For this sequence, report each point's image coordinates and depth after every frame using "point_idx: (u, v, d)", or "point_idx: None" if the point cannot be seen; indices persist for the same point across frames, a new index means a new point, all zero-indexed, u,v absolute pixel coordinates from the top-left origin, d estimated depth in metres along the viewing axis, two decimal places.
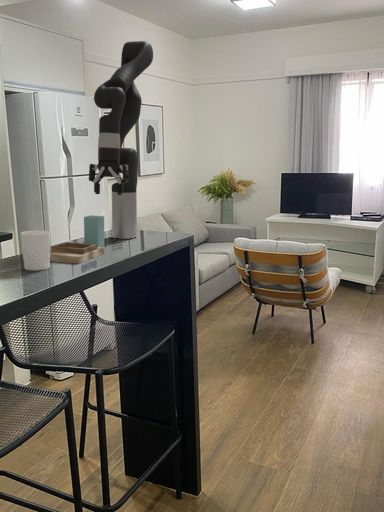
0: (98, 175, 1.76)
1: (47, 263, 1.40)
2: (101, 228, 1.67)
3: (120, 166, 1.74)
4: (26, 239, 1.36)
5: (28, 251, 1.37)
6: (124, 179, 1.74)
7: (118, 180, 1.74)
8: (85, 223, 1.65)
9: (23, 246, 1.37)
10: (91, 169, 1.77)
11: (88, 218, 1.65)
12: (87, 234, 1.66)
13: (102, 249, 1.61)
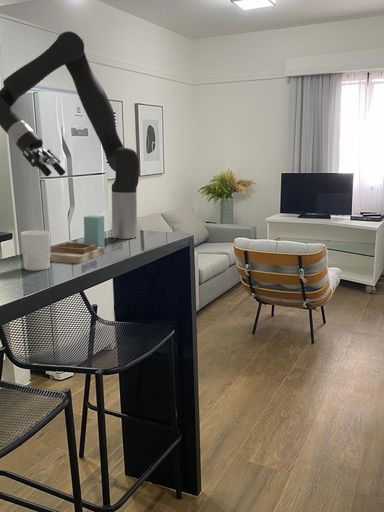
0: None
1: (47, 263, 1.40)
2: (101, 228, 1.67)
3: None
4: (26, 239, 1.36)
5: (28, 251, 1.37)
6: None
7: None
8: (85, 223, 1.65)
9: (23, 246, 1.37)
10: None
11: (88, 218, 1.65)
12: (87, 234, 1.66)
13: (102, 249, 1.61)
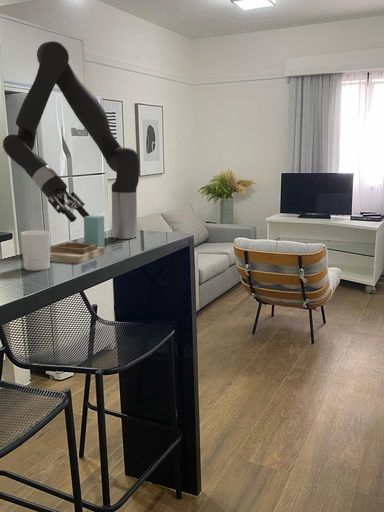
0: None
1: (47, 263, 1.40)
2: (101, 228, 1.67)
3: None
4: (26, 239, 1.36)
5: (28, 251, 1.37)
6: None
7: None
8: (85, 223, 1.65)
9: (23, 246, 1.37)
10: None
11: (88, 218, 1.65)
12: (87, 234, 1.66)
13: (102, 249, 1.61)
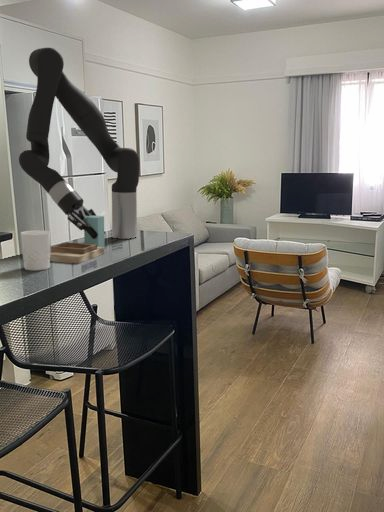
0: None
1: (47, 263, 1.40)
2: (101, 228, 1.67)
3: None
4: (26, 239, 1.36)
5: (28, 251, 1.37)
6: None
7: None
8: None
9: (23, 246, 1.37)
10: None
11: (88, 218, 1.65)
12: (87, 234, 1.66)
13: (102, 249, 1.61)
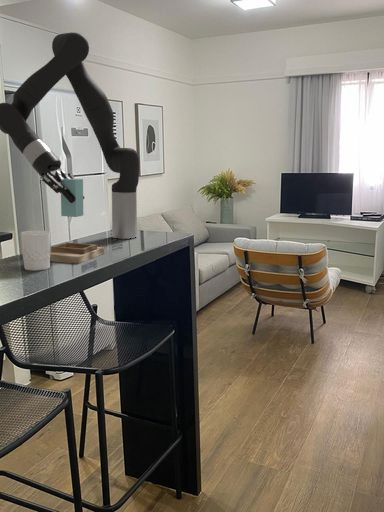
0: None
1: (47, 263, 1.40)
2: (80, 192, 1.53)
3: None
4: (26, 239, 1.36)
5: (28, 251, 1.37)
6: None
7: None
8: None
9: (23, 246, 1.37)
10: None
11: (65, 180, 1.50)
12: (64, 199, 1.51)
13: (102, 249, 1.61)
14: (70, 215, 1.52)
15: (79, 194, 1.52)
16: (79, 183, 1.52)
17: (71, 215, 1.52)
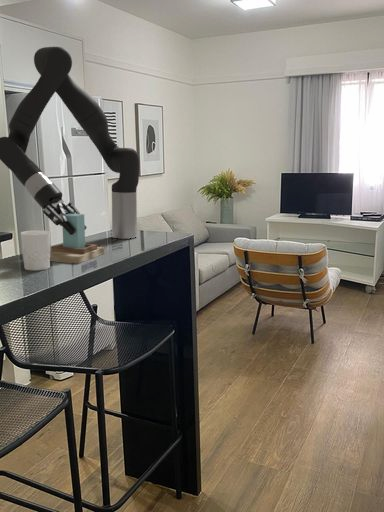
0: None
1: (47, 263, 1.40)
2: (81, 227, 1.54)
3: None
4: (26, 239, 1.36)
5: (28, 251, 1.37)
6: None
7: None
8: None
9: (23, 246, 1.37)
10: None
11: (67, 216, 1.52)
12: (66, 234, 1.53)
13: (102, 249, 1.61)
14: None
15: (81, 229, 1.54)
16: (80, 219, 1.53)
17: None
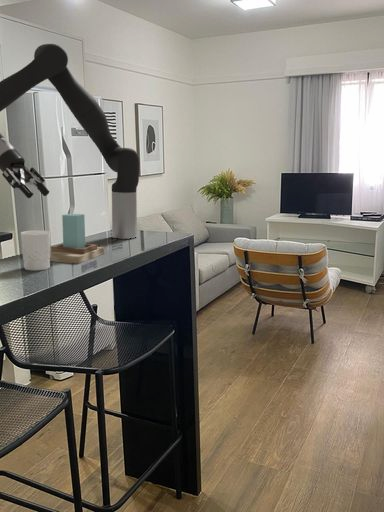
0: None
1: (47, 263, 1.40)
2: (82, 227, 1.55)
3: None
4: (26, 239, 1.36)
5: (28, 251, 1.37)
6: None
7: None
8: (64, 222, 1.53)
9: (23, 246, 1.37)
10: None
11: (67, 216, 1.52)
12: (66, 234, 1.53)
13: (102, 249, 1.61)
14: None
15: (81, 229, 1.54)
16: (81, 219, 1.54)
17: None
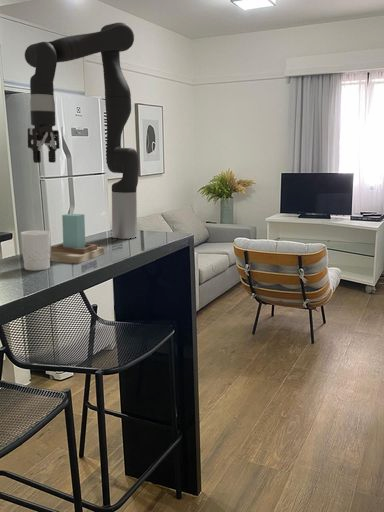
0: None
1: (47, 263, 1.40)
2: (82, 227, 1.55)
3: None
4: (26, 239, 1.36)
5: (28, 251, 1.37)
6: None
7: None
8: (64, 222, 1.53)
9: (23, 246, 1.37)
10: None
11: (67, 216, 1.52)
12: (66, 234, 1.53)
13: (102, 249, 1.61)
14: None
15: (81, 229, 1.54)
16: (81, 219, 1.54)
17: None
